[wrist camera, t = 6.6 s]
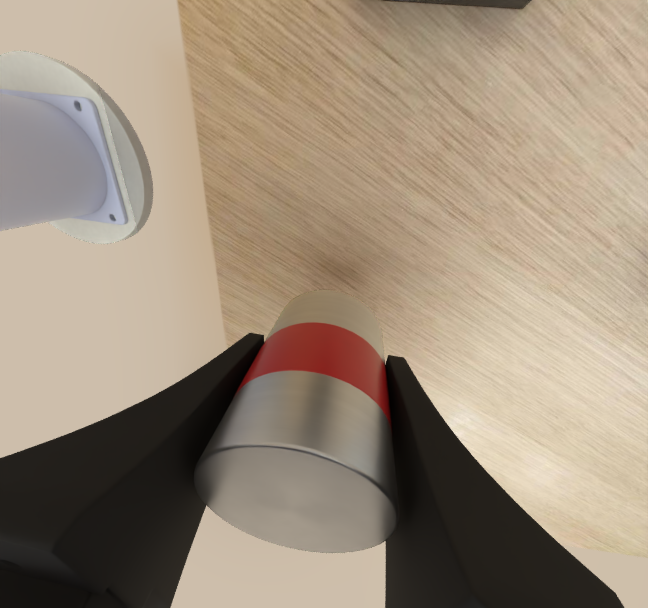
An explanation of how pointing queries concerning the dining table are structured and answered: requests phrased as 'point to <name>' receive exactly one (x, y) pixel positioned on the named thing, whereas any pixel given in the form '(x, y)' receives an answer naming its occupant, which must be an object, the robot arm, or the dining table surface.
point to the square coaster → (479, 2)
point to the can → (309, 434)
